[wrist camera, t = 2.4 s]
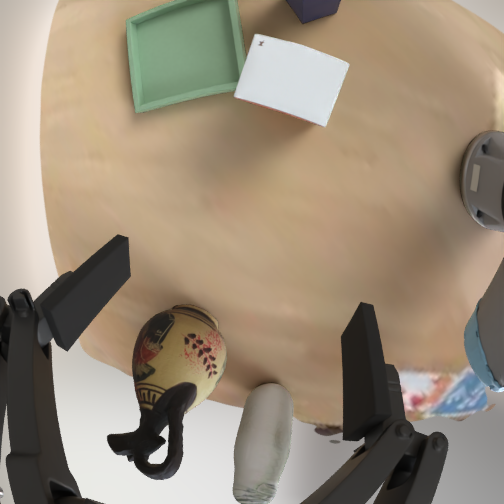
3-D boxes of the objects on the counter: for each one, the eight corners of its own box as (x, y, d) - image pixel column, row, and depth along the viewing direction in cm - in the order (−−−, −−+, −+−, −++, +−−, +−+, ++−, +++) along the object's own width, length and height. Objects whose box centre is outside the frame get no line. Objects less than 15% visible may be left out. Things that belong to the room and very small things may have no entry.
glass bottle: (284, 403, 58) (268, 512, 33) (243, 392, 58) (215, 502, 33) (303, 383, 53) (290, 507, 28) (257, 369, 53) (228, 497, 28)
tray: (235, -9, 23) (231, -15, 21) (251, 88, 30) (247, 86, 28) (133, 23, 27) (125, 20, 25) (143, 112, 33) (135, 113, 31)
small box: (255, 105, 31) (230, 97, 20) (270, 61, 28) (253, 31, 17) (316, 126, 31) (326, 129, 20) (332, 82, 28) (350, 61, 17)
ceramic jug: (179, 354, 55) (123, 475, 29) (144, 297, 49) (55, 424, 23) (255, 349, 50) (218, 501, 24) (225, 282, 44) (148, 460, 18)
